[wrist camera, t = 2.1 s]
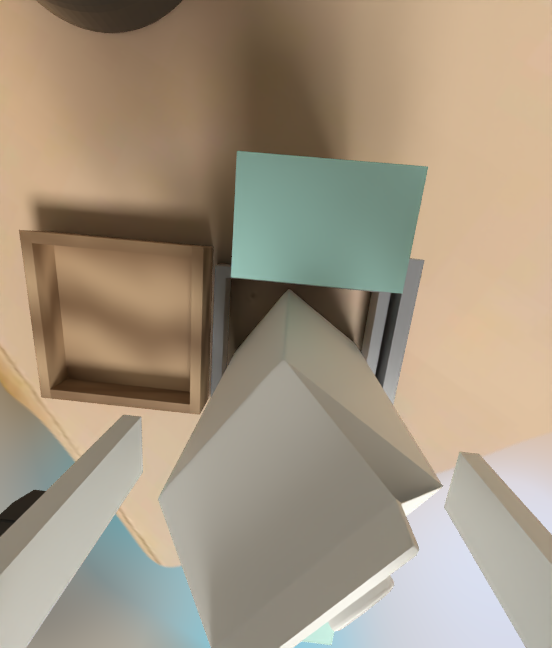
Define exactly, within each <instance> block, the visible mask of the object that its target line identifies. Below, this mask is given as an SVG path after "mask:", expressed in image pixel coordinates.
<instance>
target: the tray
mask: <svg viewBox="0 0 552 648" xmlns="http://www.w3.org/2000/svg"><path fill="white" fill-rule="evenodd" d="M19 233H20V240H21V248H22V255H23V263H24V270H25V278H26V285H27V293H28V300H29V308H30V315H31V323H32V330H33V338H34V345H35V353H36V360H37V368H38V375H39V383H40V390H41V397H43V398H52V399H61V400H71V401H80V402H89V403H98V404H107V405H116V406H126V407H135V408H144V409H153V410H162V411H172V412H181V413H190V414H199V415H200V413H201V411H202V409H203V407H204V406H205V404H206V402H207V400H208V397H209V365H210V333H211V301H212V269H213V247H210V246H200V245H189V244H178V243H167V242H156V241H146V240H135V239H124V238H113V237H102V236H91V235H81V234H70V233H59V232H48V231H25V230H19Z"/></svg>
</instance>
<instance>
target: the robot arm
mask: <svg viewBox="0 0 552 648" xmlns="http://www.w3.org/2000/svg"><path fill="white" fill-rule="evenodd" d="M37 1H38V2H39V3H40V4H41V5H42V6H44V7H45V8H46V9H47V10H49V11H50V12H52V13H53V14H55V15H56V16H58V17H59V18H61V19H63V20H65V21H67V22H69V23H71V24H73V25H76V26H78V27H81V28H84V29H87V30H92V31H96V32H104V33H119V32H127V31H132V30H136V29H139V28H142V27H145V26H147V25H149V24H151V23H153V22H155V21H157V20H159V19H160V18H162V17H163V16H165V15H166V14H168V13H169V12H170V11H171V10H173V9H174V8H175V7H176V6H177V5H178V4H179V3H180V2H181V1H182V0H37ZM142 473H143V460H142V423H141V417H139V416H130V415H123V416H122V417H121V418H120V419H119V420H118V421H117V422H116V423H115V424H114V425H113V426H112V427H110V428H109V429H108V430H107V431H106V432H105V433H104V434H103V435H102V436H101V437H100V438H99V439H98V440H97V441H96V442H95V443H94V444H93V445H92V446H91V447H90V448H89V449H88V450H87V451H86V452H85V453H84V454H83V455H82V456H81V457H80V458H79V459H78V460H77V461H76V462H75V463H74V464H73V465H72V466H71V467H70V468H69V469H68V470H67V471H66V472H65V473H64V474H63V475H62V476H61V477H60V478H59V479H58V480H57V481H56V482H55V483H54V484H53V485H52V486H51V487H50V488H49V489H48V490H47V491H40V490H33V491H31V492H30V493H28V494H26V495H25V496H23V497H21V498H20V499H18V500H17V501H15V502H13V503H12V504H11V505H10V506H9V507H8V508H7V509H6V510H4V511H3V512H2V513H1V514H0V648H26V647H27V646H28V644H29V643H30V641H31V640H32V638H33V636H34V635H35V633H36V632H37V631H38V629H39V628H40V626H41V625H42V623H43V622H44V620H45V619H46V617H47V615H48V614H49V613H50V611H51V609H52V608H53V607H54V605H55V604H56V602H57V601H58V599H59V597H60V596H61V594H62V593H63V592H64V590H65V588H66V587H67V585H68V584H69V582H70V581H71V579H72V578H73V576H74V575H75V573H76V572H77V570H78V569H79V567H80V566H81V564H82V563H83V561H84V560H85V558H86V557H87V555H88V554H89V552H90V551H91V549H92V548H93V546H94V545H95V543H96V542H97V540H98V539H99V537H100V536H101V534H102V533H103V531H104V530H105V528H106V527H107V525H108V524H109V522H110V521H111V519H112V518H113V516H114V515H115V513H116V512H117V510H118V509H119V507H120V506H121V504H122V503H123V501H124V500H125V498H126V497H127V495H128V494H129V492H130V491H131V489H132V488H133V486H134V485H135V483H136V482H137V480H138V479H139V477H140V476H141V474H142ZM444 508H445V509H446V511H447V513H448V515H449V516H450V518H451V520H452V522H453V523H454V525H455V526H456V528H457V530H458V532H459V534H460V535H461V537H462V538H463V540H464V542H465V544H466V545H467V547H468V549H469V550H470V552H471V554H472V556H473V558H474V559H475V561H476V563H477V564H478V566H479V568H480V570H481V571H482V573H483V575H484V576H485V578H486V580H487V582H488V583H489V585H490V587H491V589H492V590H493V592H494V593H495V595H496V597H497V599H498V600H499V602H500V604H501V606H502V607H503V609H504V611H505V613H506V614H507V616H508V618H509V619H510V621H511V622H512V625H513V626H514V628H515V630H516V631H517V633H518V635H519V637H520V638H521V640H522V642H523V643H524V645H525V647H526V648H552V535H551V534H550V532H549V531H548V530H547V529H546V528H545V527H544V526H543V525H542V524H541V522H540V521H539V520H538V519H537V518H536V517H535V516H534V515H533V514H532V512H530V510H529V509H528V508H527V507H526V506H525V505H524V504H523V502H522V501H521V500H520V499H519V498H518V497H517V496H516V495H515V494H514V493H513V491H512V490H511V489H510V488H509V487H508V486H507V485H506V484H505V482H504V481H503V480H502V479H501V478H500V477H499V476H498V475H497V474H496V473H495V471H494V470H493V469H492V468H491V467H490V466H489V465H488V464H487V462H486V461H485V460H484V459H483V458H482V457H481V456H480V455H479V454H475V453H466V452H459V456H458V459H457V463H456V466H455V470H454V474H453V477H452V481H451V484H450V488H449V492H448V495H447V498H446V502H445V506H444Z"/></svg>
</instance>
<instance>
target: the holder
mask: <svg viewBox="0 0 552 648" xmlns="http://www.w3.org/2000/svg"><path fill="white" fill-rule="evenodd" d="M427 170H428V167H426V166H414V165H402V164H389V163H377V162H365V161H353V160H341V159H329V158H317V157H305V156H293V155H281V154H269V153H257V152H245V151H237V160H236V181H235V202H234V223H233V244H232V264H222V263H221V264H218V265H215V286H214V316H213V346H212V376H211V397H212V395H213V393H214V391H215V389H216V387H217V385H218V383H219V382H220V380H221V378H222V376H223V374H224V372H225V370H226V368H227V354H228V333H229V312H230V291H231V278H235V279H245V280H256V281H266V282H277V283H287V284H298V285H308V286H319V287H329V288H340V289H350V290H361V291H371V298H370V304H369V310H368V315H367V321H366V327H365V333H364V338H363V344H362V350H361V354H362V355H363V357H364V359H365V360H366V362H367V364H368V365H369V367H370V368H371V370H372V372H373V373H374V375H375V377H376V378H377V380H378V381H379V383H380V385H381V386H382V388H383V390H384V391H385V393H386V394H387V396H388V398H389V399H390V401H391V403H392V404H394V399H395V394H396V390H397V385H398V380H399V376H400V371H401V366H402V362H403V357H404V352H405V348H406V343H407V339H408V334H409V329H410V325H411V320H412V315H413V311H414V306H415V301H416V297H417V292H418V287H419V283H420V278H421V273H422V269H423V264H424V260H420V259H412V258H410V254H411V249H412V244H413V239H414V234H415V229H416V224H417V219H418V214H419V209H420V205H421V200H422V195H423V190H424V185H425V180H426V175H427ZM333 635H334V631H333V630H332V629H331V627H330V625H329V623H328V622H327V623H325V624H324V625H323V626H321V627H320V628H319V629H317V630H316V631H315V632H313V633H312V634H311V635H309V636H308V637H307V638H305V639H304V640H303V642H312V643H318V644H326V645H332V640H333Z"/></svg>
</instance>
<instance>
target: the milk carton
mask: <svg viewBox="0 0 552 648" xmlns="http://www.w3.org/2000/svg"><path fill="white" fill-rule="evenodd" d="M442 487H443V485H442V484H441V483H440V481H439V479H438V478H437V476H436V474H435V473H434V471H433V469H432V468H431V466H430V464H429V463H428V461H427V459H426V458H425V456H424V454H423V453H422V451H421V450H420V448H419V446H418V445H417V443H416V441H415V440H414V438H413V437H412V435H411V433H410V432H409V430H408V428H407V427H406V425H405V424H404V422H403V420H402V419H401V417H400V415H399V414H398V412H397V411H396V409H395V407H394V406H393V404H392V403H391V401H390V399H389V398H388V396H387V394H386V393H385V391H384V390H383V388H382V386H381V385H380V383H379V381H378V380H377V378H376V377H375V375H374V373H373V372H372V370H371V368H370V367H369V365H368V364H367V362H366V360H365V359H364V357H363V355H362V354H361V352H360V351H359V349H358V347H357V346H356V344H355V343H354V342H353V341H351V340H350V339H349V338H348V337H347V336H345V335H344V334H343V333H342V332H341V331H339V330H338V329H337V328H336V327H335V326H333V325H332V324H331V323H330V322H329V321H327V320H326V319H325V318H324V317H323V316H321V315H320V314H319V313H318V312H317V311H315V310H314V309H313V308H312V307H311V306H310V305H308V304H307V303H306V302H305V301H304V300H302V299H301V298H300V297H299V296H298V295H296V294H295V293H294V292H293V291H292V290H290V289H288V290H287V291H286V292H285V293H284V294H283V295H282V296H281V298H280V299H279V300H278V301H277V302H276V304H275V305H274V306H273V307H272V308H271V310H270V311H269V312H268V313H267V314H266V315H265V317H264V318H263V319H262V320H261V321H260V323H259V324H258V325H257V326H256V327H255V328H254V330H253V331H252V332H251V333H250V334H249V336H248V337H247V338H246V339H245V340H244V342H243V343H242V344H241V345H240V346H239V347H238V349H237V350H236V351H235V353H234V355H233V357H232V359H231V361H230V363H229V364H228V366H227V368H226V370H225V372H224V374H223V376H222V378H221V380H220V382H219V383H218V385H217V387H216V389H215V391H214V393H213V395H212V397H211V399H210V401H209V402H208V404H207V406H206V408H205V410H204V412H203V414H202V416H201V418H200V420H199V421H198V423H197V425H196V427H195V429H194V431H193V433H192V435H191V437H190V439H189V440H188V442H187V444H186V446H185V448H184V450H183V452H182V454H181V456H180V458H179V459H178V461H177V463H176V465H175V467H174V469H173V471H172V473H171V475H170V477H169V478H168V480H167V482H166V484H165V486H164V488H163V490H162V492H161V494H160V496H159V498H158V500H159V503H160V506H161V509H162V512H163V514H164V517H165V520H166V523H167V526H168V528H169V531H170V534H171V537H172V540H173V542H174V545H175V548H176V551H177V554H178V556H179V559H180V562H181V565H182V568H183V570H184V573H185V576H186V579H187V582H188V584H189V587H190V590H191V593H192V596H193V598H194V601H195V604H196V607H197V609H198V612H199V615H200V618H201V620H202V624H203V627H204V629H205V632H206V635H207V638H208V641H209V643H210V646H211V648H293V647H294V646H296V645H297V644H298V643H300V642H301V641H303V640H304V639H305V638H307V637H308V636H309V635H311V634H312V633H313V632H315V631H316V630H317V629H319V628H320V627H321V626H323V625H324V624H325V623H327V622H328V623H329V625H330V627H331V629H332V630H333V631H339V630H341V629H342V628H344V627H346V626H347V625H348V624H350V623H351V622H352V621H354V620H355V619H357V618H358V617H359V616H361V615H362V614H363V613H365V612H366V611H367V610H369V609H370V608H371V607H372V606H374V605H375V604H376V603H377V602H379V601H380V600H381V599H382V598H383V597H385V596H386V595H387V594H388V593H389V592H390V591H391V590H392V588H393V586H394V582H393V579H392V578H391V576H390V575H391V574H392V573H394V572H395V571H396V570H398V569H399V568H400V567H402V566H403V565H404V564H406V563H407V562H408V561H410V560H411V559H412V558H414V557H415V556H416V555H417V553H418V551H419V547H418V544H417V542H416V539H415V537H414V534H413V532H412V529H411V527H410V525H409V522H408V520H407V517H406V516H407V515H408V514H410V513H411V512H412V511H413V510H415V509H416V508H417V507H418V506H420V505H421V504H422V503H423V502H425V501H426V500H427V499H428V498H430V497H431V496H432V495H433V494H435V493H436V492H437V491H438V490H439V489H441V488H442Z"/></svg>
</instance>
